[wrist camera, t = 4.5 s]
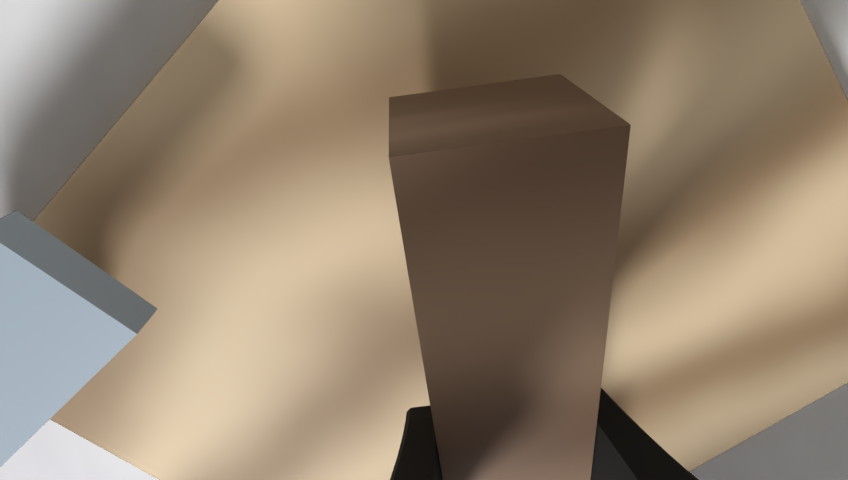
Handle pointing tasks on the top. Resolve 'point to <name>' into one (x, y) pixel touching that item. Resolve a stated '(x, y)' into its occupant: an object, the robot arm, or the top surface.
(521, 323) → the link
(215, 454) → the board
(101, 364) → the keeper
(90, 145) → the top surface
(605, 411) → the robot arm
